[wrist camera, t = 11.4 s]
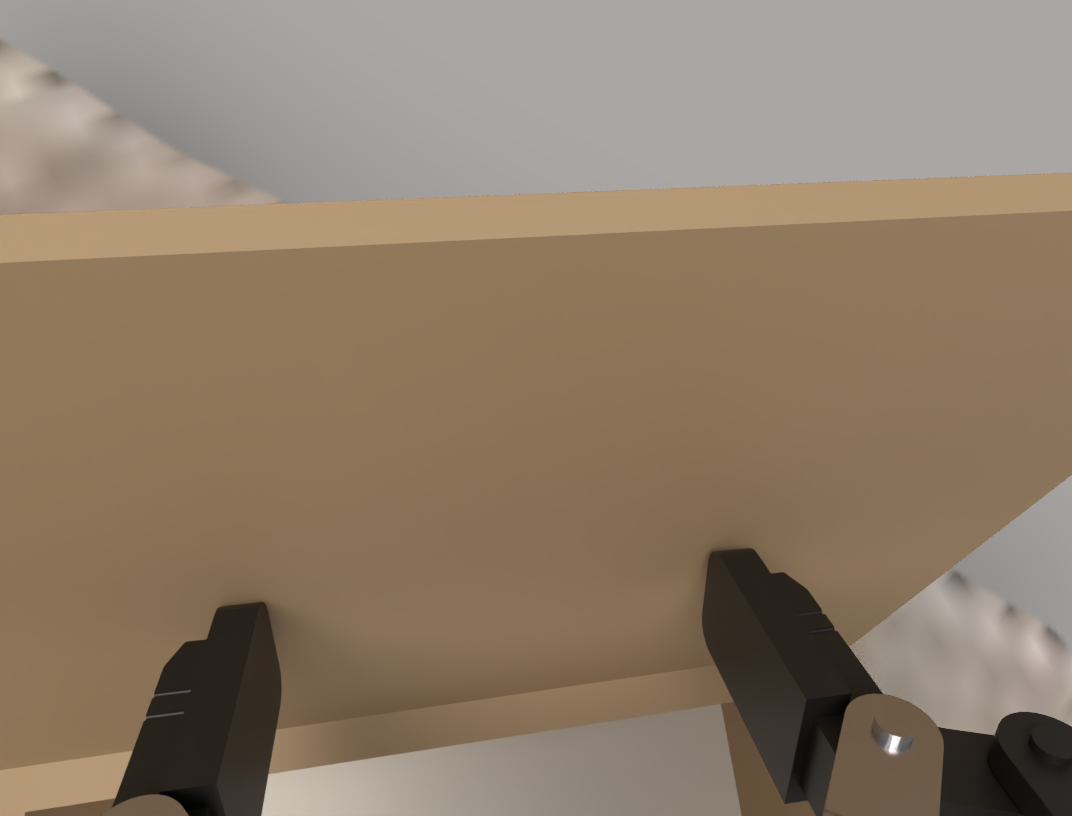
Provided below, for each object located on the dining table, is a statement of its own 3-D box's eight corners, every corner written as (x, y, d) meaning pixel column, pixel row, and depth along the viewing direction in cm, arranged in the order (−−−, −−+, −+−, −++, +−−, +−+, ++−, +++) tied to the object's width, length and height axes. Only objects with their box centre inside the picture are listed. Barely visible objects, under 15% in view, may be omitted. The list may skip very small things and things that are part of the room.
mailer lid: (1436, 192, 9) (1388, 154, 9) (-1326, 327, 5) (-1208, 253, 5) (851, 645, 22) (841, 621, 22) (-42, 776, 18) (-35, 744, 18)
